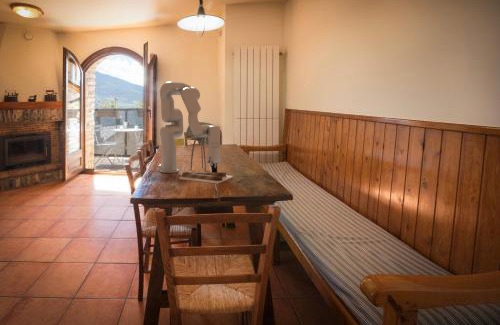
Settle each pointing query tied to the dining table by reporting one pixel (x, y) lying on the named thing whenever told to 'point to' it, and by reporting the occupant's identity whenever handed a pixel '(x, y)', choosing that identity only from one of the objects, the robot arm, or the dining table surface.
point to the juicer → (200, 140)
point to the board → (207, 180)
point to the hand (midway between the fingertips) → (214, 173)
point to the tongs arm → (211, 173)
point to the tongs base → (201, 176)
